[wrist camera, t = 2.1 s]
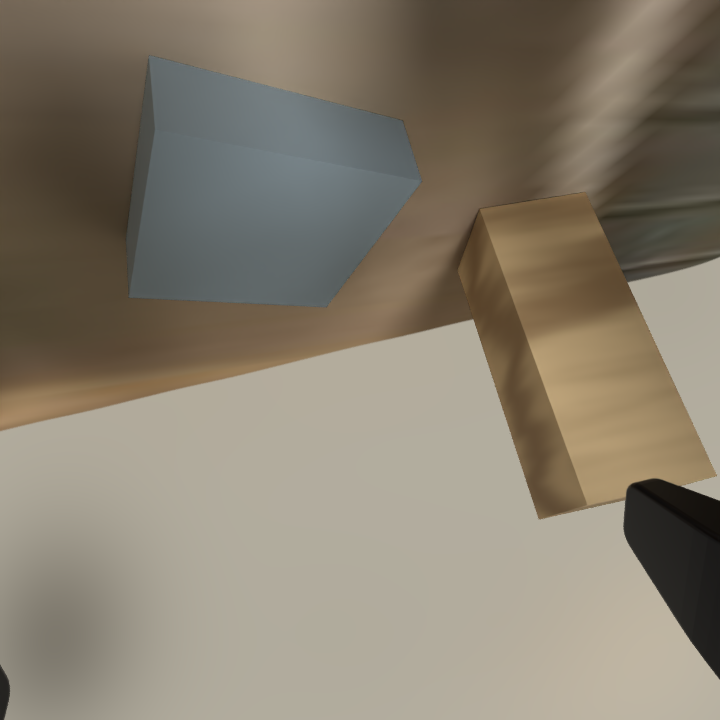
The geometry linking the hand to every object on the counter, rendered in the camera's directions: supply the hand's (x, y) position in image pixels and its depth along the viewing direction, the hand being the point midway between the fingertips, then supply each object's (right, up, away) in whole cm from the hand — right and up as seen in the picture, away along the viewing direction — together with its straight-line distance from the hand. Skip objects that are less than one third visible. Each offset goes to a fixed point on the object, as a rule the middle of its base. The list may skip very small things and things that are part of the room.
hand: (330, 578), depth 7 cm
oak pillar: (+8, +9, +18) cm, 22 cm away
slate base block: (-3, +10, +12) cm, 16 cm away
